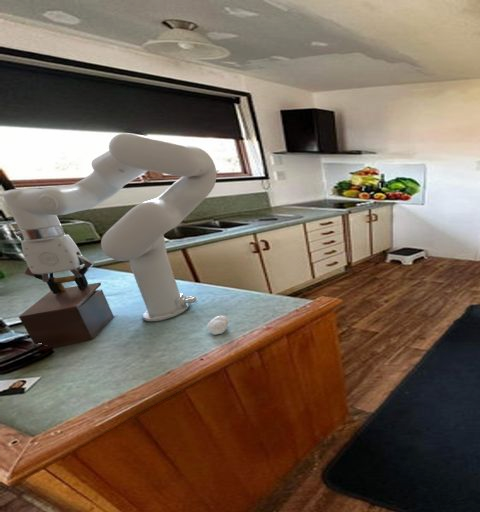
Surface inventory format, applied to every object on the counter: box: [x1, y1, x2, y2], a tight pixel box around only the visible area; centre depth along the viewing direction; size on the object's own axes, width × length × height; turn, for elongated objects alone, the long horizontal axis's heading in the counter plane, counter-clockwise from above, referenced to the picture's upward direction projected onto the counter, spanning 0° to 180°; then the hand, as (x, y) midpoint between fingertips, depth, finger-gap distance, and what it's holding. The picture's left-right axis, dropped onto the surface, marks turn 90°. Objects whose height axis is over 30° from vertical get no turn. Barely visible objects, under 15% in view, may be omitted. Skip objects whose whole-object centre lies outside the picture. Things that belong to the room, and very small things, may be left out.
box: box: [19, 289, 115, 352], centre depth 82 cm, size 14×12×10 cm
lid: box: [18, 274, 102, 320], centre depth 79 cm, size 14×12×5 cm
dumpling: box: [206, 315, 229, 336], centre depth 81 cm, size 7×5×4 cm
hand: (71, 289), depth 83 cm, fingers closed on lid, 5 cm apart
